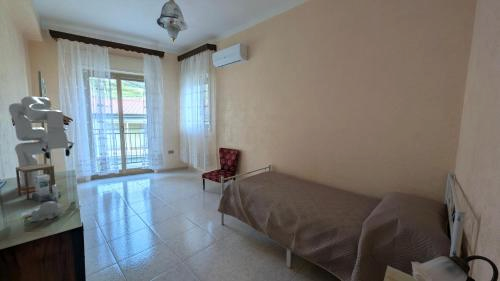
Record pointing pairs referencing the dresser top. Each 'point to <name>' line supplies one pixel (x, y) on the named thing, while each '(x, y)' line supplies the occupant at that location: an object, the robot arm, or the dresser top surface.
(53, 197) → the gray frame with handle
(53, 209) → the round bodied animal figurine
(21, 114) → the robot arm
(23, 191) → the pit trap
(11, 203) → the dresser top surface
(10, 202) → the dresser top surface
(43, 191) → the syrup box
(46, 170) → the wooden stool
